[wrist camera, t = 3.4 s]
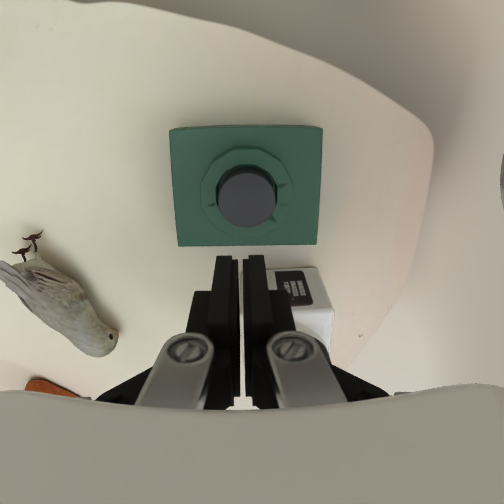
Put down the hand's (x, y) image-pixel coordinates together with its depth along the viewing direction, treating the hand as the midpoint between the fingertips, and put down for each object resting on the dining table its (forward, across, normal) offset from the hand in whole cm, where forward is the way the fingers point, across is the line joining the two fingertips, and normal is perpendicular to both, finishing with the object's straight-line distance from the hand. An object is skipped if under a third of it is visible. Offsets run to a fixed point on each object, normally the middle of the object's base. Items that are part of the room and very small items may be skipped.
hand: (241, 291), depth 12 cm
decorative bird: (+19, +20, +11) cm, 29 cm away
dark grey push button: (+14, 0, 0) cm, 14 cm away
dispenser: (+18, 0, 0) cm, 18 cm away
